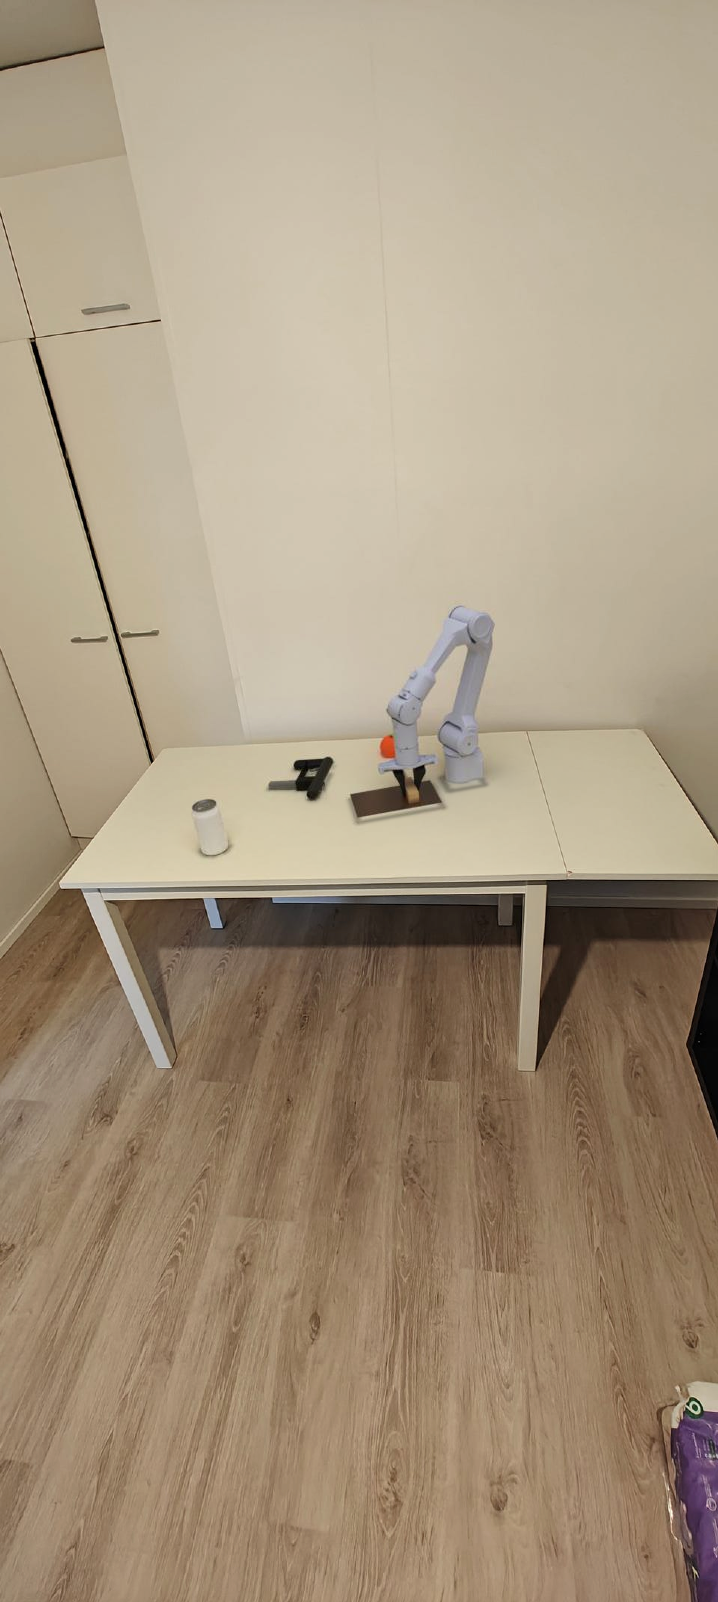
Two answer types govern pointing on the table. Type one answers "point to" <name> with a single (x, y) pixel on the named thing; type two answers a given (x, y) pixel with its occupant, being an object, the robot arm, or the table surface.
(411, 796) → the knife
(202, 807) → the can
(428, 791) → the board
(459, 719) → the robot arm
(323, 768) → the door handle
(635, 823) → the table surface
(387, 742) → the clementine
